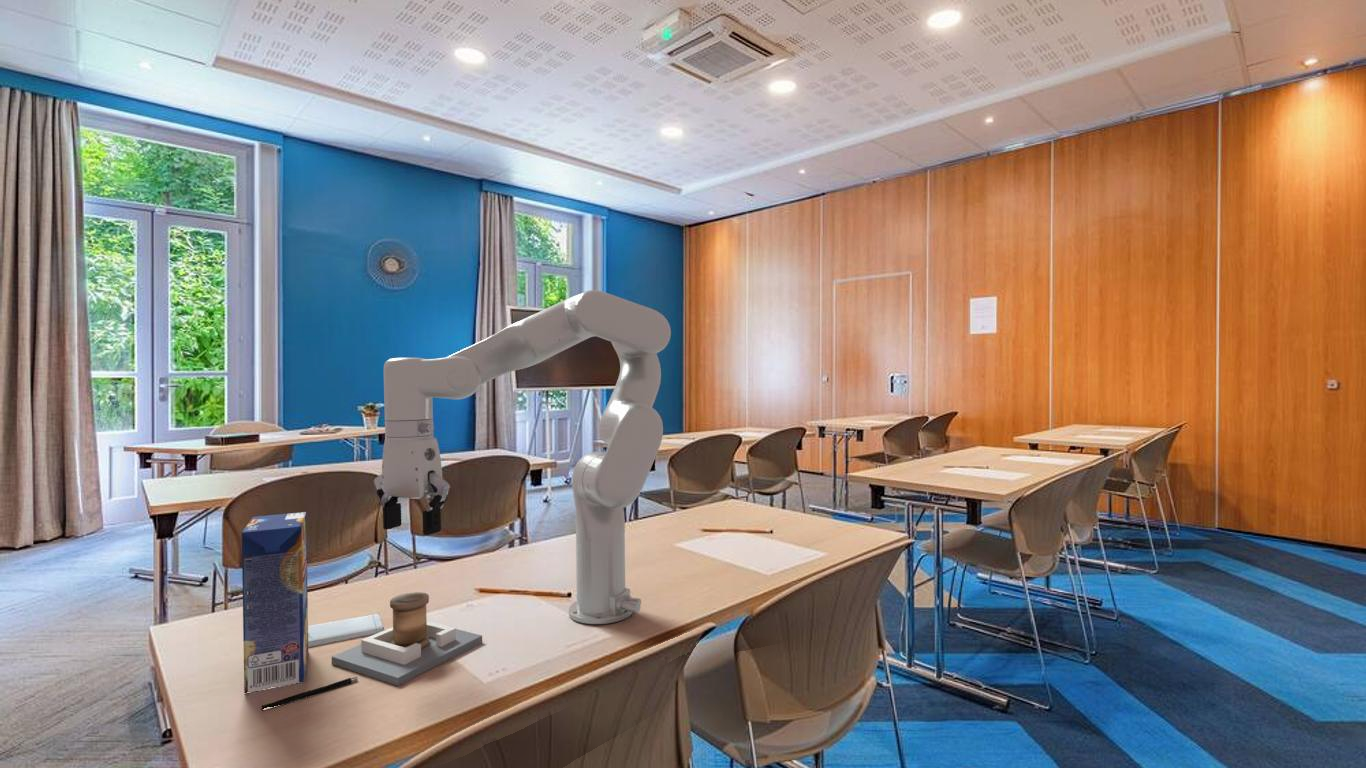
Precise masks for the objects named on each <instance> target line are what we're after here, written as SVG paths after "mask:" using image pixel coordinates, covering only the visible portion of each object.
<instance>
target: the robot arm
mask: <svg viewBox="0 0 1366 768" xmlns="http://www.w3.org/2000/svg"><path fill="white" fill-rule="evenodd" d="M671 331H672V330H671V326H670V323H669V321H668V320H667V318H666V317H665V316H664V315H663V314H662V313H661V312H660V311H659V312H658V311H657V310H655V309H653V308H651V307H648V306H645V305H642V304H639V303H636V302H633V301H630V300H628V299H625V298H622V297H619V296H617V295H614V294H610V293H609V292H606V291H605V292H604V291H601V290H595V289H592V290H586V291H584V292H581V293H579V294H576V295H573V296H571V297H569V298H566V299H564V300H562V301H560V302H558V303H556V304H553V305H552V306H548V307H547V308H545V309H543V310H541V311H538V312H536V313H534V314H532V315H530V316H527V317H525V318H522V319H521V320H519V321H516V322H514V323H512V324H511V325H508V326H507V327H505V328H503V329H502V330H500V331H497V332H496V333H494V334H493V335H491V336H488V337H487V338H486V339H483V340H481V341H479V342H476V343H474V344H472V345H470V346H468V347H466V348H463V349H461V350H460V351H457V352H455V353H453V354H451V355H448V356H446V357H439V358H428V359H427V358H423V357H394V358H389V359H388V360H386V361H385V362H384V364H383V396H384V397H383V398H384V402H383V404H384V405H383V406H384V407H383V408H384V438H385V439H384V443H383V449H382V457H381V458H382V461H381V463H382V464H381V474H379V475H378V476H376V477H375V478H373V479H374V480H373V482H374V483H373V484H374V486H375V488H376V490H377V491H376V495H377V497H378V498H379V499H380V500H379V501H380V502H379V504H380V506H382V525H383V526H382V527H383V530H390V529H395V528H399V527H401V526H402V503H400V502H399V501H400V499H401V498H403V499H413V500H420V502H421V504H422V506H423V508H424V509H425V510H422V533H423V535H424V536H429V535H432V534H437V533H440V532H441V530H442V519H441V518H442V517H441V516H442V515H441V511H442V510H441V509H442V508H443V507H444V503H445V502H446V501H447V499H448V494H449V491H450V489H451V485H450V483H449V482H448V481H446V480H445V479H444V478H443V468H442V459H441V453H440V452H441V451H440V447H439V443H438V440H437V437H434V430H435V426H434V414H433V413H434V412H433V410H434V409H433V408H434V407H433V406H434V405H433V398H436V399H437V398H438V399H447V400H463V399H467V398H470V397H471V396H472V395H474V394H475V393H476V392H477V391H478V389H479V388H480V386H482V385H484V384H485V383H488V382H490V381H492V380H494V379H496V378H498V377H501V376H503V375H505V374H509V373H511V372H516V371H518V370H523V369H526V368H529V367H532V366H535V365H538V364H540V363H542V362H544V361H546V360H548V359H550V358H552V357H554V356H555V355H557V354H560V353H561V352H563V351H565V350H567V349H569V348H571V347H573V346H575V345H577V344H579V343H582V342H583V341H586V340H588V339H589V338H593V337H597V338H600V339H603V340H606V341H609V342H611V344H612V346H613V349H614V351H615V352H616V355H617V357H618V359H619V365H620V368H619V375H618V378H617V381H616V384H615V387H614V389H613V391H612V393H611V396H610V397H609V401H608V402H607V405H606V407H605V408H604V411H603V413H602V415H601V418H600V420H599V423H598V434H599V438H601V439H600V440H602V442H604V444H606V445H607V448H606V449H605V450H606V451H593V452H592V451H591V452H589V453H587V454H585V455H583V456H582V457H581V458H580V459H579V460H578V461H577V463H576V464H575V466H574V468H573V471H572V479H571V482H572V493H573V499H574V500H573V501H574V510H575V531H576V533H575V541H576V542H575V547H576V548H575V549H576V550H575V554H576V558H575V559H576V560H575V561H576V562H575V563H576V564H575V566H576V601H574V602H573V603H572V604H571V605H570V606H569V608H568V615H569V617H570V619H572V620H573V621H574V622H577V623H581V624H587V625H607V624H611V623H612V624H613V623H617V622H620V621H623V620H625V619H627V618H629V617H630V616H631V615H632V614H634V613H635V614H639V612H640V611H641V605H642V599H641V598H639V597H638V598H637V597H632V596H631V588H627V587H626V541H625V540H626V535H625V533H626V523H625V522H626V521H625V510H624V509H625V508H627V507H628V506H630V505H631V504H632V503H633V502H634V501H635V500H637V498H638V497H639V495H640V493H641V492H642V490H643V488H644V486H645V483H646V481H647V478H648V476H649V474H650V471H651V469H652V466H653V464H654V461H655V459H656V457H657V454H658V452H659V449H660V447H661V444H662V439H663V436H664V435H663V433H664V426H663V425H664V424H663V419H662V417H661V415H660V414H659V412H658V411H657V410H656V409H655V408H653V406H654V404H655V401H656V398H657V395H658V393H659V389H660V386H661V380H662V379H661V378H662V368H661V363H660V360H659V357H658V353H660V352H661V351H663V350H665V348H666V347H667V346H668V344H669V343H670V340H671V336H672V332H671ZM430 499H431V501H430Z"/></svg>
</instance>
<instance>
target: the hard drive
mask: <svg viewBox="0 0 1366 768" xmlns="http://www.w3.org/2000/svg"><path fill="white" fill-rule="evenodd" d="M380 615H381V614H379V613H375V614H370V615H364V616H358V617H357V616H356V617H352V618H346V619H345V618H344V619H341V620H334V621H329V622H323V623H319V624H318V623H317V624H311V625H308V648H310V647H316V646H321V645H325V644H331V643H335V641H336V642H341V641H345V640H346V641H347V640H350V638H351V639H355V638H361V637H366V636H372V635H374V634H377V633H379V632H382V631H384V626H383V623H382V619H381V617H380ZM340 640H341V641H340Z"/></svg>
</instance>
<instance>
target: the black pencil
mask: <svg viewBox="0 0 1366 768" xmlns="http://www.w3.org/2000/svg"><path fill="white" fill-rule="evenodd" d="M358 681H359V680H358V677H357V676H354V677H349V678H345V679H342V680H339V681H336V682H333V683H331V684H328V685H325V686H321V687H317V688H313V689H309V690H307V691H303V692H300V693H297V694H293V695H291V696H287V697H284V698H282V699H279V700H276V701H273V702H272V701H271V702H269V703H265V704H261V710H262V709H264V708H267V707H274V706H278V705H281V706H283V705H282V704H284V705H287V704H289V702H290V703H291V702H292V701H293V702H296V701H299V700H298V699H300V700H303V699H306V697H307V698H310V697H313V696H317V695H319V694H323V693H327V692H330V691H333V690H335V689H338V688H341V687H343V686H347V685H350V684H351V685H352V684H353V683H357V682H358ZM295 700H296V701H295ZM286 703H287V704H286ZM278 707H279V706H278Z"/></svg>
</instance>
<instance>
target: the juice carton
mask: <svg viewBox="0 0 1366 768" xmlns="http://www.w3.org/2000/svg"><path fill="white" fill-rule="evenodd" d="M307 529H308V528H307V511H302V512H301V511H300V512H292V513H282V514H281V513H279V514H272V515H271V514H269V515H259V516H253V517H252V518H251V519H250V520H249V522H248V523H247V524H246V526H245V528H244V529H243V530H242V532H241V568H242V571H241V574H242V575H241V576H242V580H241V581H242V625H243V626H242V628H243V630H242V632H243V634H242V635H243V637H242V639H243V641H242V642H243V691H244V692H243V693H247V692H254V691H259V690H263V689H268V688H271V687H279V686H283V687H285V686H284V685H288V686H291V684H293V685H297V684H296V683H298V684H301V683H304V681H305V677H306V670H307V664H308V663H307V662H308V659H309V658H308V657H309V647H308V626H309V614H308V613H309V612H308V611H309V609H308V607H309V605H308V604H309V603H308V601H309V600H308V599H309V598H308V547H307V546H308V544H307V543H308V537H307V536H308V531H307ZM279 688H280V687H279ZM259 692H260V691H259ZM254 693H255V692H254Z"/></svg>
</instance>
